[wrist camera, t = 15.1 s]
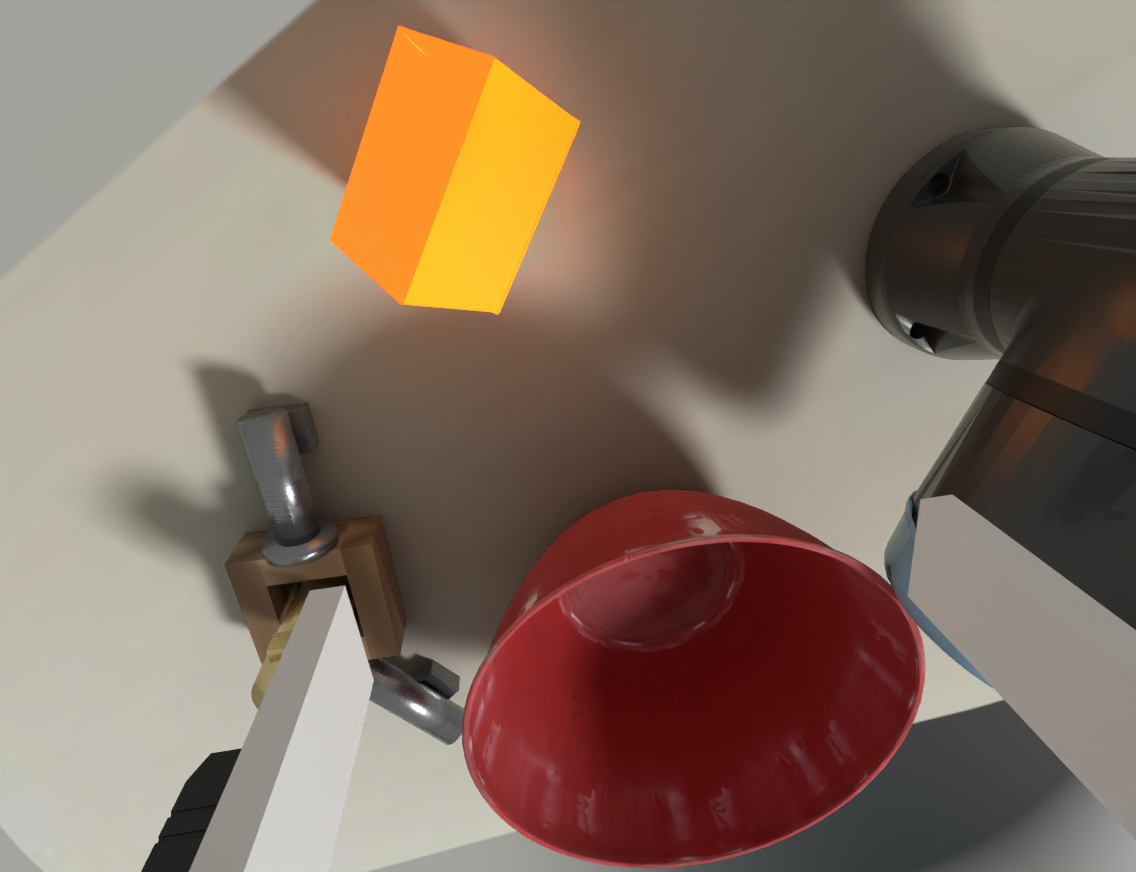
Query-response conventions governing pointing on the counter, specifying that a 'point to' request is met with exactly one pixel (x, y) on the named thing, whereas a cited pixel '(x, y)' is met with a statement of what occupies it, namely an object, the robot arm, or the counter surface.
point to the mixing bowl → (688, 684)
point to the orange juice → (450, 175)
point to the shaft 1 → (286, 484)
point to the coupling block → (354, 555)
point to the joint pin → (287, 627)
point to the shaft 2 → (419, 698)
